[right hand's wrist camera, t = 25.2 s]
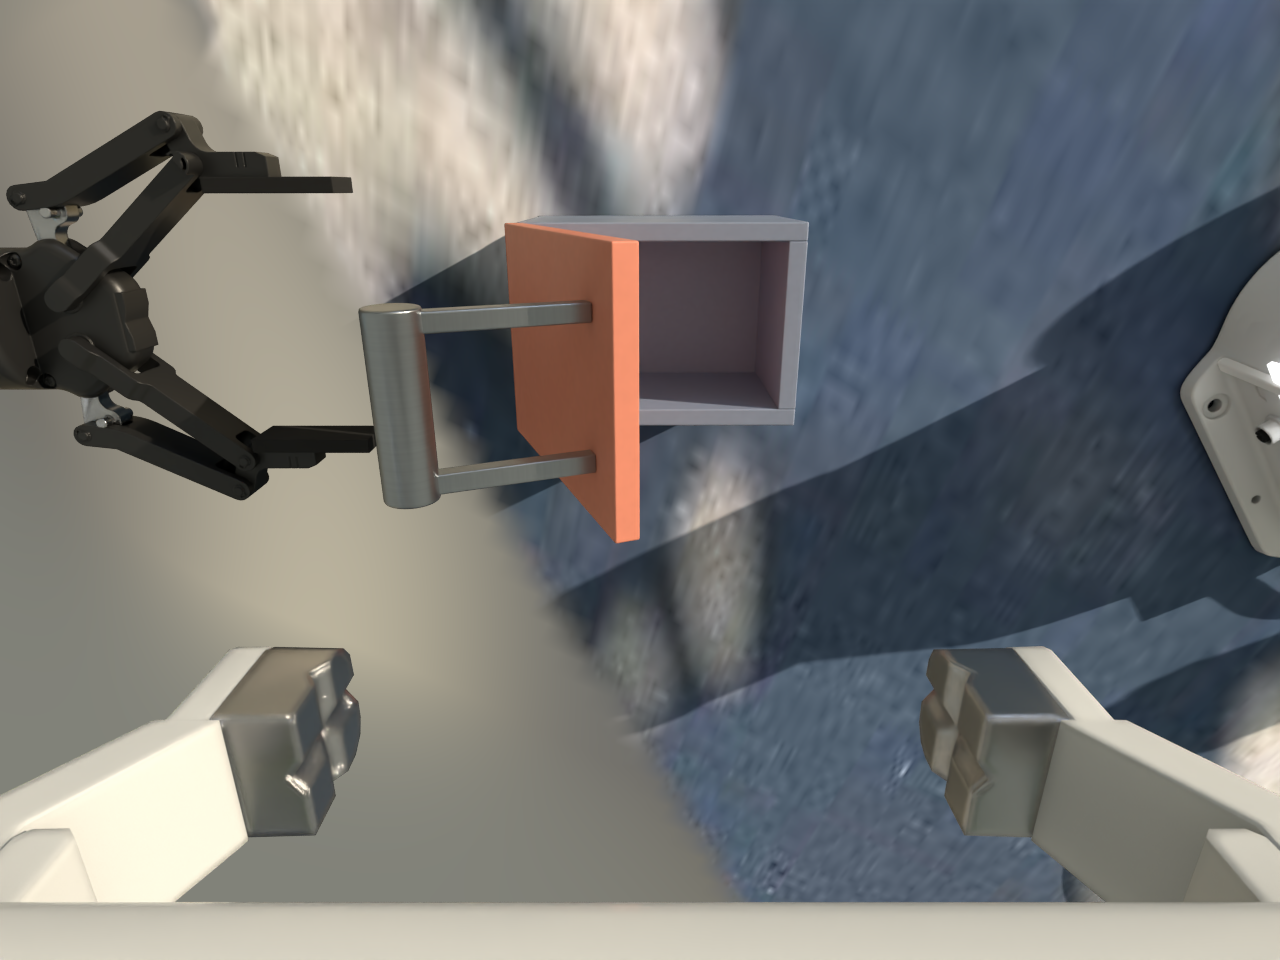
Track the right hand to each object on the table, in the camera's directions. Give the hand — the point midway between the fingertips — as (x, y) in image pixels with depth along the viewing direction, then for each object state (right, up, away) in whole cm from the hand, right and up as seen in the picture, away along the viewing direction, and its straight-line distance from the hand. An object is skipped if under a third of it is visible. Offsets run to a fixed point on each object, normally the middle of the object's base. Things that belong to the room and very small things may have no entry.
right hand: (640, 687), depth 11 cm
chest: (+1, +14, +36) cm, 39 cm away
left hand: (-15, +12, +30) cm, 36 cm away
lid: (-3, +8, +21) cm, 22 cm away
